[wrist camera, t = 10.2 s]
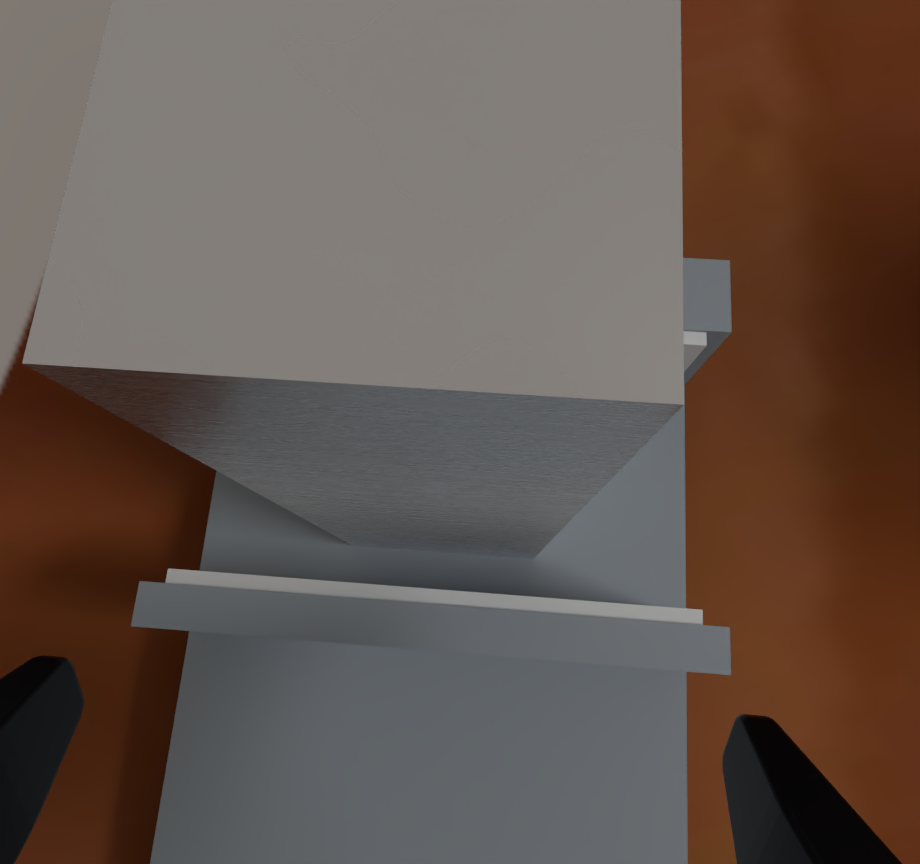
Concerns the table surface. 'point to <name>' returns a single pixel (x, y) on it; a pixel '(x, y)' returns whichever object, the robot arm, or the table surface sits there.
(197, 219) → the aluminium bar
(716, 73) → the table surface
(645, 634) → the vise
